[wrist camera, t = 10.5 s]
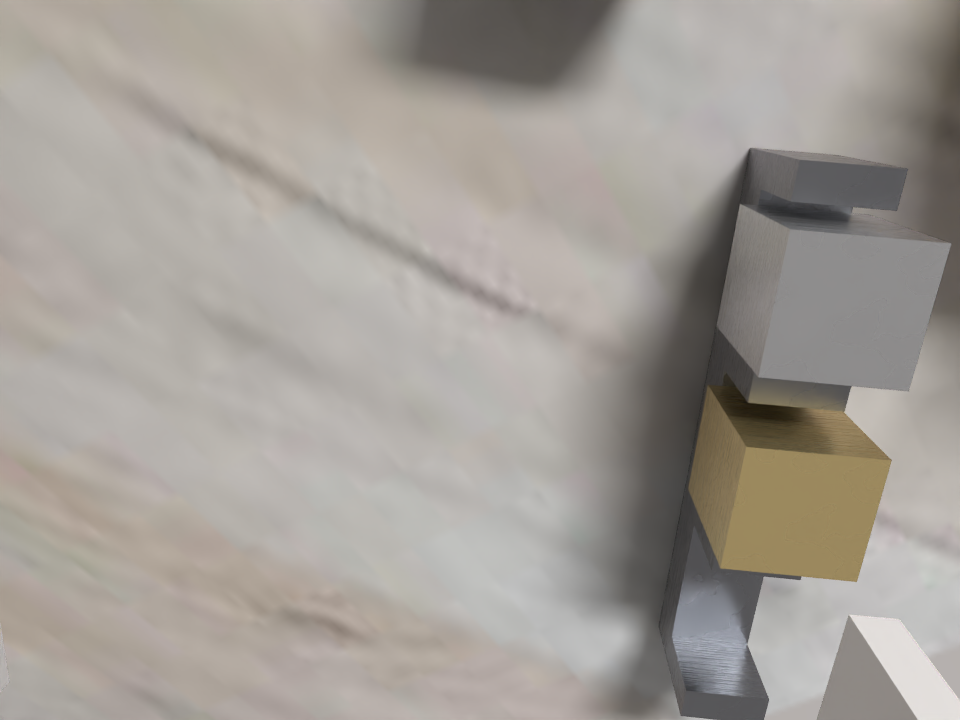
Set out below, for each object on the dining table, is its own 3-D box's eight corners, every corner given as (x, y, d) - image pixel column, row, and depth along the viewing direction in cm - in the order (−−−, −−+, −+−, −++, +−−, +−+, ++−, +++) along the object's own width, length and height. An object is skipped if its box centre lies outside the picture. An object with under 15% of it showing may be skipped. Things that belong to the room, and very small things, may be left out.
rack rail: (658, 626, 39) (680, 715, 33) (750, 147, 31) (799, 159, 25) (728, 633, 39) (762, 724, 33) (838, 155, 31) (908, 168, 25)
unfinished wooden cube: (688, 488, 34) (720, 568, 28) (707, 384, 32) (746, 446, 26) (801, 499, 33) (856, 581, 28) (827, 395, 32) (891, 460, 26)
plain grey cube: (716, 326, 31) (758, 377, 25) (740, 203, 29) (790, 229, 24) (838, 337, 31) (908, 391, 25) (869, 214, 29) (951, 243, 24)
